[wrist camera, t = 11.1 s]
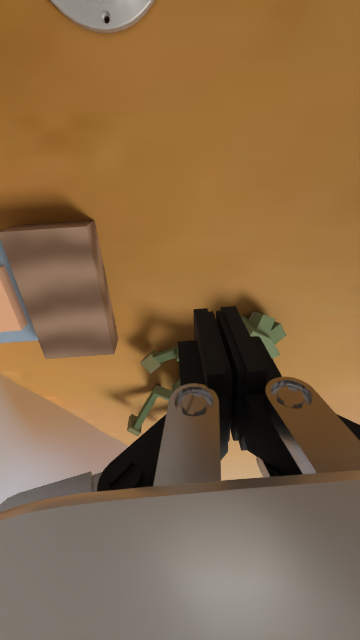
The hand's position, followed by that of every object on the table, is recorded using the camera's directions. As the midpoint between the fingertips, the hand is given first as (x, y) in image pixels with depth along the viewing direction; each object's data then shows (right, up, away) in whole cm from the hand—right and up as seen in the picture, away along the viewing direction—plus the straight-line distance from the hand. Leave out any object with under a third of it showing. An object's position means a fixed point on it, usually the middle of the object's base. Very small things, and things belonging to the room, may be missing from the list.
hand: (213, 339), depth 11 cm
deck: (-17, +5, +27) cm, 32 cm away
